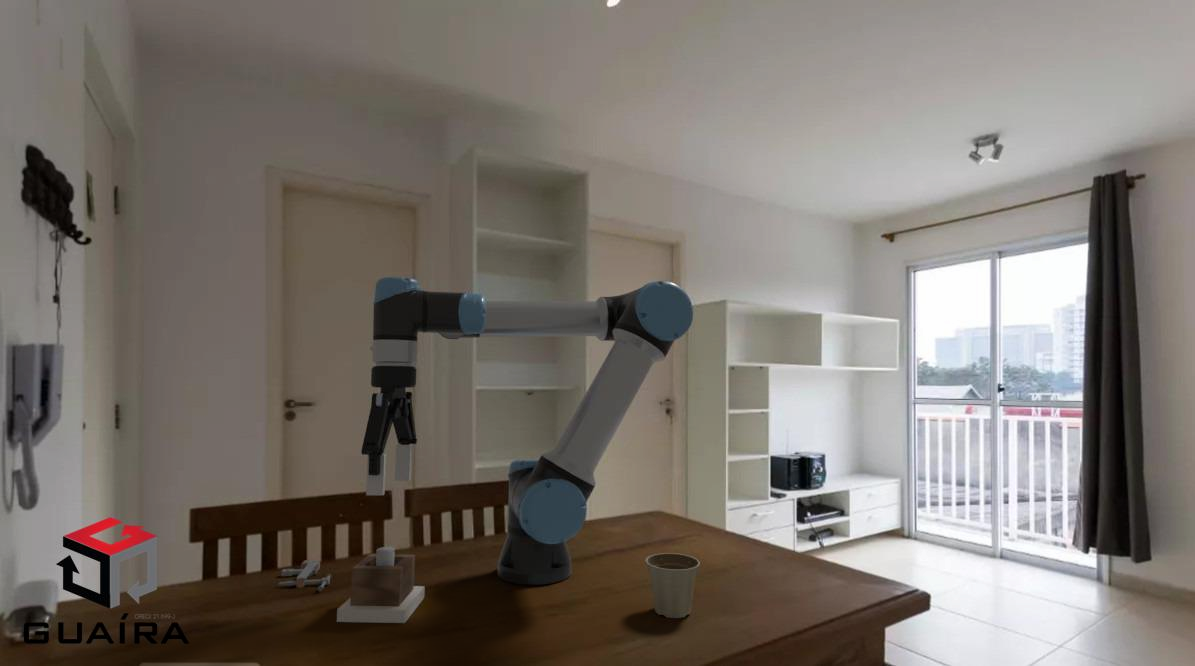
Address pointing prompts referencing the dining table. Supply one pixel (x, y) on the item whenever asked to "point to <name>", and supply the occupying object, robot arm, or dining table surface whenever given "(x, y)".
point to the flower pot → (672, 583)
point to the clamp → (306, 575)
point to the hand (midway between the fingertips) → (389, 487)
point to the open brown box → (382, 581)
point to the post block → (382, 612)
